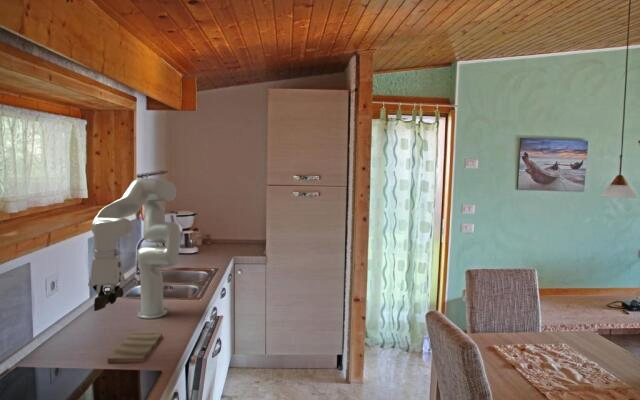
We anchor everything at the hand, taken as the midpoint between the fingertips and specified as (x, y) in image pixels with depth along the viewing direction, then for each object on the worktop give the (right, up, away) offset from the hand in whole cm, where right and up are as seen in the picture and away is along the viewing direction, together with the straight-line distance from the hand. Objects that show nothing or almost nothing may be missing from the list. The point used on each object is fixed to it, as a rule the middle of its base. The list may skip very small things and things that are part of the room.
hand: (107, 302), depth 177 cm
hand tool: (0, -1, 0) cm, 1 cm away
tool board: (+11, -17, 0) cm, 20 cm away
